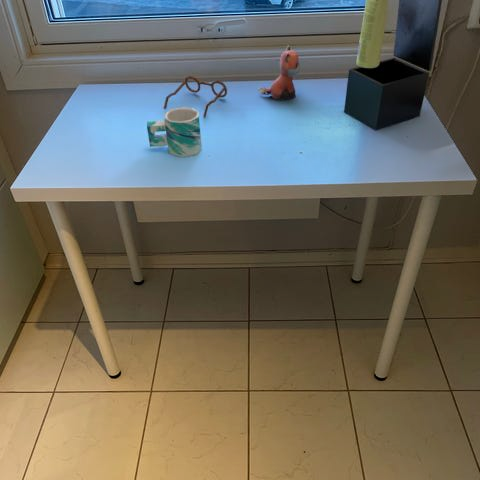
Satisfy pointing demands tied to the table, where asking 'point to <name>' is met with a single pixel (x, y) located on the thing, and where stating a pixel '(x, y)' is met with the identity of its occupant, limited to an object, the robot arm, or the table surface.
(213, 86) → the glasses
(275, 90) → the stuffed fox
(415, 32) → the bin lid
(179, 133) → the mug
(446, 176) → the table surface
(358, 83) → the bin
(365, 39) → the tube
